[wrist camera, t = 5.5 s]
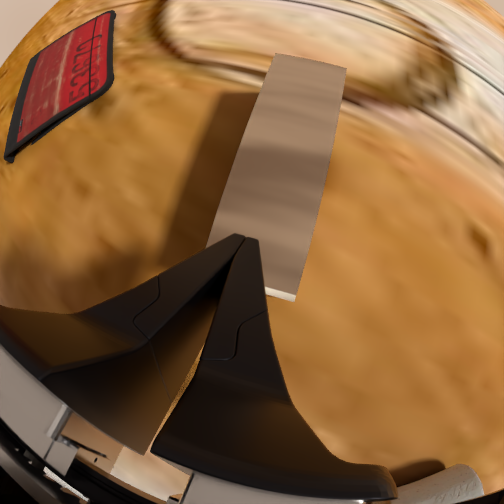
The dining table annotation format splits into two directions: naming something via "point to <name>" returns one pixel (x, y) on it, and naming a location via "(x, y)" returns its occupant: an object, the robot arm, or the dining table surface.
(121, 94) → the dining table surface
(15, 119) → the binder
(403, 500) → the ceramic mug
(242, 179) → the walnut block
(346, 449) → the dining table surface
